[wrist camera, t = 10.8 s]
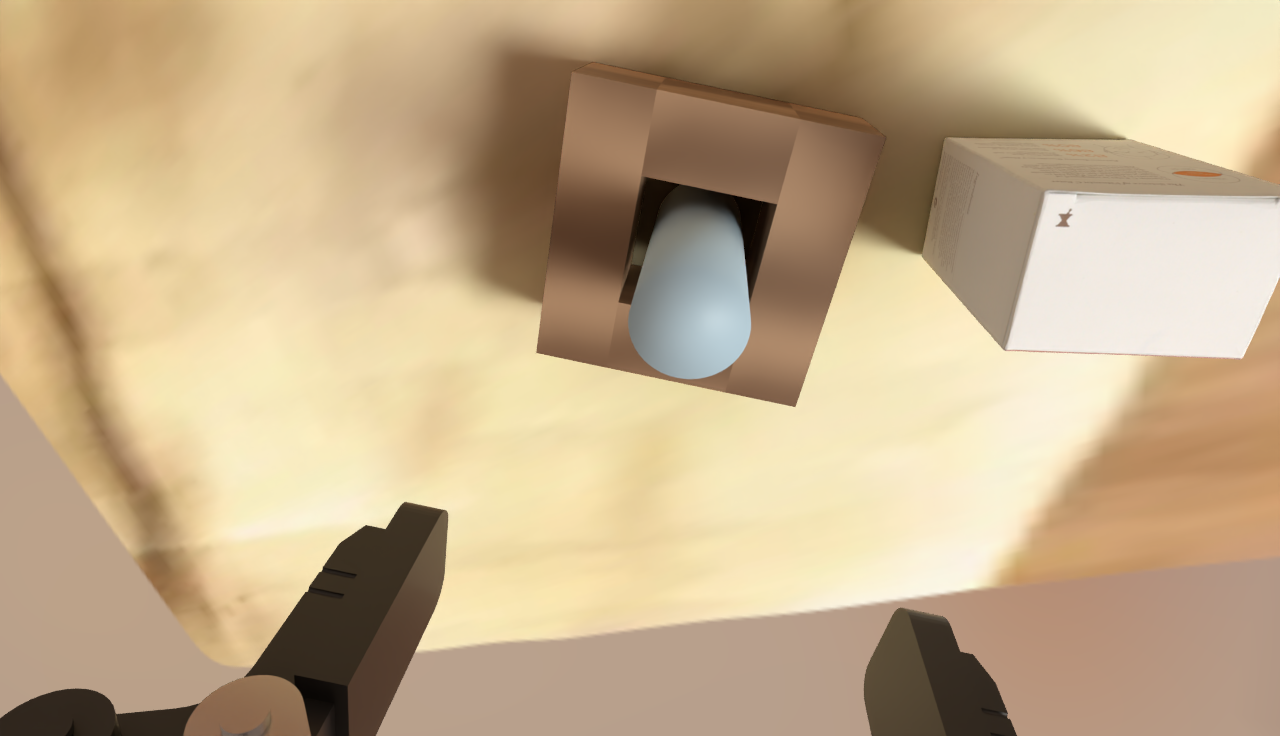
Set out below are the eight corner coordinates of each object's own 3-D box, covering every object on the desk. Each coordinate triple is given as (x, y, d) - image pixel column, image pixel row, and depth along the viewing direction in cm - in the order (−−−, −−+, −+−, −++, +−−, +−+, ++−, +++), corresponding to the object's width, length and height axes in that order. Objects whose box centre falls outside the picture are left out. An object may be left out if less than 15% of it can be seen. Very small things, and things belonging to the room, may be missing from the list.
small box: (918, 256, 33) (996, 354, 24) (942, 133, 31) (1039, 189, 21) (1096, 262, 32) (1248, 366, 23) (1136, 137, 30) (1324, 196, 21)
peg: (665, 172, 33) (640, 254, 22) (750, 190, 32) (765, 281, 22) (649, 254, 34) (619, 365, 24) (729, 270, 34) (734, 389, 24)
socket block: (592, 62, 31) (571, 71, 26) (862, 117, 31) (886, 137, 26) (558, 310, 36) (536, 352, 32) (785, 357, 36) (795, 407, 32)
